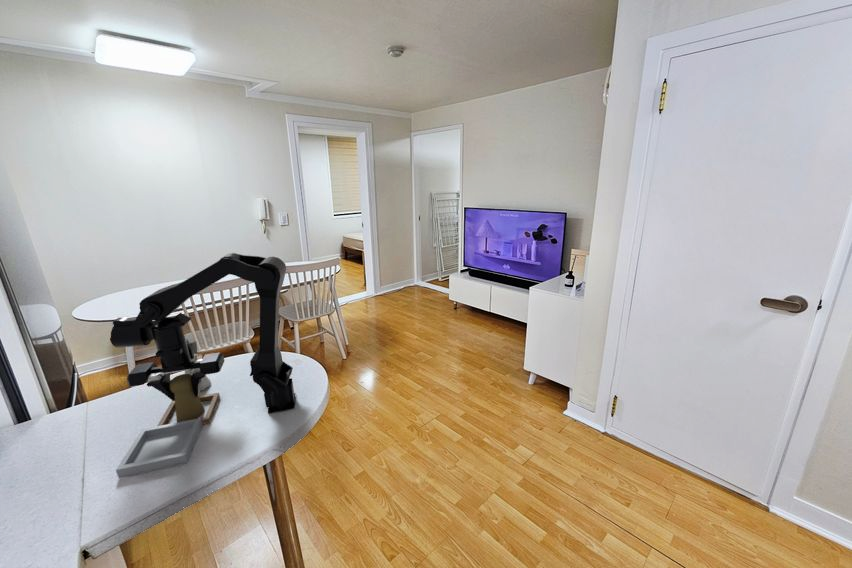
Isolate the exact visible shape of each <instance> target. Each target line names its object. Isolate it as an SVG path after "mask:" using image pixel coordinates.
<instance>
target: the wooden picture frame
mask: <svg viewBox="0 0 852 568" xmlns="http://www.w3.org/2000/svg"><path fill="white" fill-rule="evenodd" d="M198 396H199V399H200V401H201V403H206V402H207V403H208V402H210V404H209V406H208V409H207V411H206V414H205V416H204V417H200V418H201V421H202V424H203V426H207V425H210V424H211V422H212V420H213V417H214V414H215V411H216V408H217V406H218V403H219V401H220V398H221V396H220V392H213V393H208V394H203V395H198ZM174 412H176V408H175V401H172V400H171V402H170V404H169V405H168V407H167V408H166V409H165V412H164V414H163V415H162V417H161V419H160V421H159V422H158V424H157V426H161V425H166V424H169V421H170V419H172V416H173V414H174Z"/></svg>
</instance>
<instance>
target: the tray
mask: <svg viewBox="0 0 852 568" xmlns="http://www.w3.org/2000/svg"><path fill="white" fill-rule="evenodd" d="M201 418H202V417H199V418H197V419H193V420H187V421H182V422H178V421H177V422H173V423H167V424H166V425H161V426H151V427H146V428H141V430H140V431H139V433H138V434H137V436H136V437H135V439H134V440H133V442H132V444H131V445H130V446H129V449H128V450H127V451H126V453H125V455H124V456H123V458H122V459H121V461H120V463H118V464H119V465H118V466H117V467H116V468H115V472H116V474H117V477H118V479H123V478H127V477H128V478H129V477H131V476H135V475H140V474H146V473H150V472H154V471H159V470H164V469H168V468H172V467H177V466H182V465H185V464H188V462H189V460H190V457H191V455H192V452H193V450H194V447H195V445H196V442H197V440H198V438H199V436H200V433H201V430H202V429H203V426H204V425H203V424H202V421H201Z"/></svg>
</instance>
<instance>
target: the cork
mask: <svg viewBox="0 0 852 568" xmlns="http://www.w3.org/2000/svg"><path fill="white" fill-rule="evenodd" d="M191 376H192V375H190V374H185V373H183V374H179V375H176V376H174V377H173V378H172V379H170V380H171V381H170V384H169V387H170V390H171V391H172V392H173V393H174V398H175V408H176V409H175V417H176V421H177V422H182V421H187V420H193V419H198V418H201V416H203V414H204V413H205V407H204V405H203V402H201V401H200V399H199V396H200V395H198V397H196V396H195V394H194V391H193V387H192V383H191V379H190V378H191Z"/></svg>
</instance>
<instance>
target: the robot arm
mask: <svg viewBox="0 0 852 568" xmlns="http://www.w3.org/2000/svg"><path fill="white" fill-rule="evenodd" d="M286 271H287V265H286V264H285V262H284V261H283V260H282V259H281V258H279V257H276V256H268V257H263V256H257V255H244V254H239V253H235V252H230V253H227V254H226V255H224V256H222V257H221V258H220V259H219V260H217V261H215V262H214V263H212V264H211V265H209V266H207V267H205V268H204V269H202V270H201V271H199V272H197V273H195V274H193V275H192V276H190V277H189V278H187V279H185V280H183V281H181V282H178V283H175V284H171V285H168V286H164V287H163V288H160V289H158V290H155V291H154V292H153V293H151V294H149V295H148V296H146V297H144V298H143V299H142V300H140V302H139V304H138V305H139V313H138V314H137V315H136V317H123V316H122V317H117V318H115V319H114V320H113V321H112V325H113V326H112V328H111V329H110V330H111V331H110V337H109V341H110V343H111V345H112V346H113V347H115V348H116V349H117V348H129V347H141V346H142V347H143V346H144V347H145V346H149V345H150V344H151V343H152V341H153V340H154V343H155V346H156V352H155V353H154V355H155V356H156V358H159V360H160V364H161V366H158V365H157V363H156V362H154V361H152V362H144V363H138V364H136V365H135V366H134V367H133V368H132V370H131V371H130V372H129V373H128V374H127V376H126V383H127V385H128V386H129V387H131V388H132V387H136V386H143V385H145V383H146V386H147V387H152V388H154V389H156V390H157V391H158V392H161V394H164V396H166V397H168V399H169V400H171V402H172V401H175V398H174V393H173V392H172V391H171V390H170V387H169V384H170V381H171V380H172V379H171V374H174V373H180V372H185V371H187V370H192V371H193V372H194V373H193V374H192V376H191V378H190V379H191V383H192V387H193V391H194V394H195V396H196V397H198V396H200V392H201V391H200V385H201V380H202V378H204V377H205V376H207V375H213V374H217V373H219V372H221V369H222V368H223V365H224V363H225V357H224V355H223V354H222V353H221V352H214V353H206V354H204V355H203V357H202V358H201V359H197V360H196V361H193V362H191V359H194V357H195V355H196V354H198V346H197V341H190V342H189V339H187V338H186V335H185V332H184V328H183V327H185V326H186V325H187V324H188V323H190V321H192V318H191V317H190V316H188V315H185V314H183V313H182V312H179V313H178V314H177V315H175V316H170V315H171V314H172V313H174V312H175V311H176V310H177V309H178V308H180V307H181V306H182V305H183V304H184V303H185V302H187V301H188V299H190V298H191V297H193V296H195V295H196V294H198V293H200V292H202V291H204V290H205V289H206V288H208V287H210V286H211V285H213V284H215V283H217V282H218V281H220V280H222V279H224V278H225V277H226V276H228V275H232V276H235V277H237V278H240V279H242V280H244V281H247V282H253V283H254V287H255V290H256V292H257V295H258V297H259V340H258V341H259V345H258V346H259V348H258V349H256V351H255V352H254V353H253V355H252V357H251V359H250V361H249V362H250V370H251V371H250V374H249V376H250V377H252V380H253V381H252V382H253V383H255V384H257V385H258V386H259V387H260V389H261V390H262V391H263V396H264V403H265V407H266V408H267V413H268V414H273V413H279V412H282V411H283V412H284V411H288V410H293V409H295V408H296V397H295V395H297V394H296V392H295V389H294V382H293V378H290V377H291V375H292V372H293V366H291V365H289V364H288V363H286V362H285V361H284V360H283V356H282V352H281V350H280V348H279V321H280V320H279V316H280V295H281V290H282V288H283V285H284V280H285V277H286V273H287V272H286ZM194 354H195V355H194Z"/></svg>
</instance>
